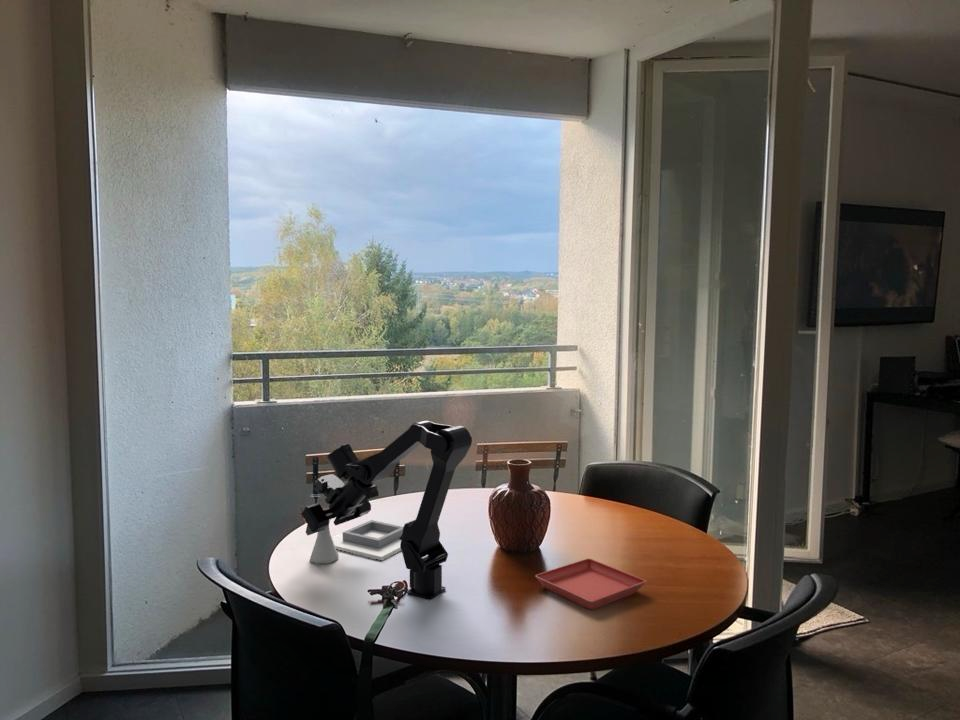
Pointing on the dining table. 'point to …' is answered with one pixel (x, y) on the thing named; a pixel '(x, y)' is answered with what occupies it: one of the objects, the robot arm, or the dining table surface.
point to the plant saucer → (590, 583)
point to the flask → (324, 548)
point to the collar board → (370, 540)
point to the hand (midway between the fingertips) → (321, 528)
